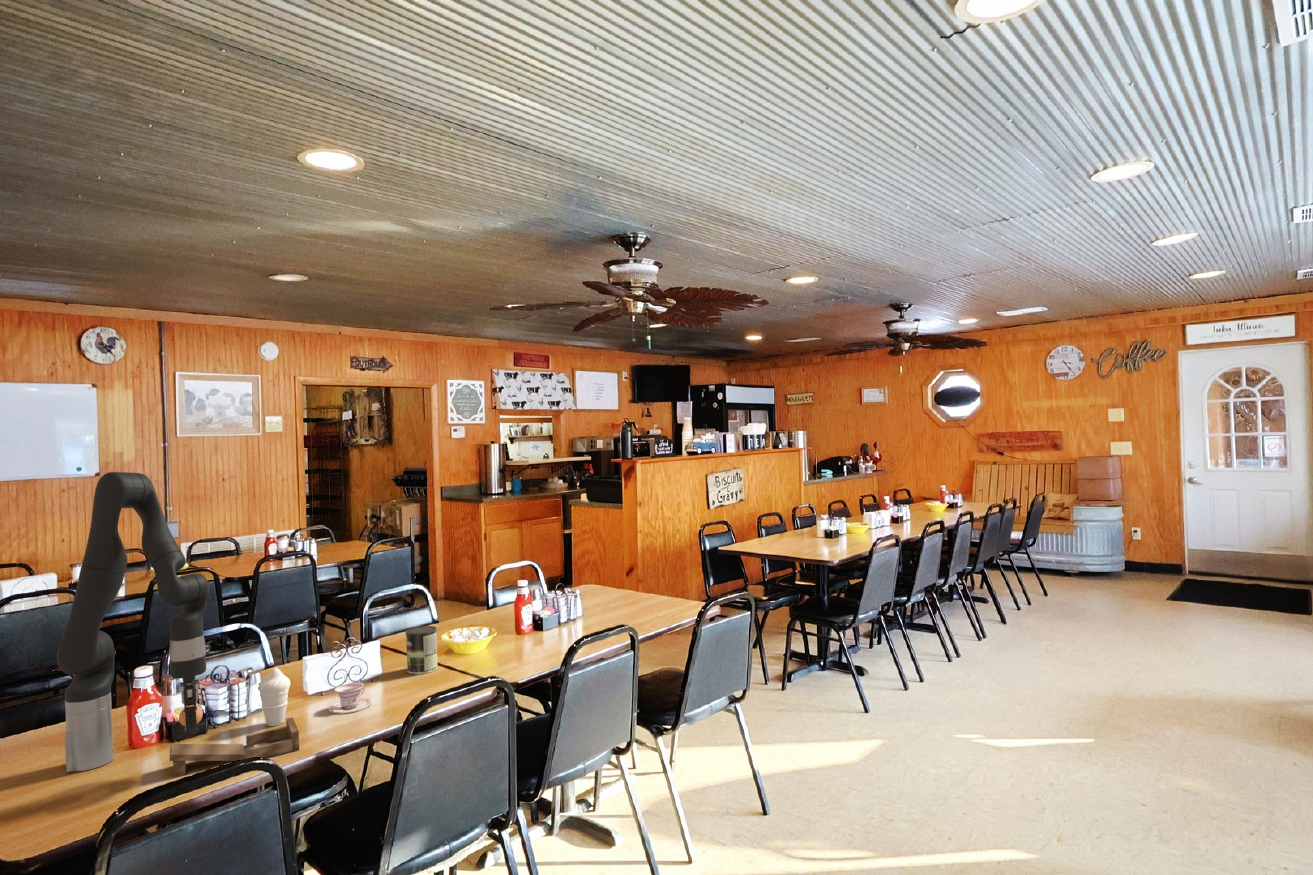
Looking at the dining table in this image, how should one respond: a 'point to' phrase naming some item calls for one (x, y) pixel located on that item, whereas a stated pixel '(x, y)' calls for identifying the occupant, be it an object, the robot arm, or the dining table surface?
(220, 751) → the ramp
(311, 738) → the dining table surface
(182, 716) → the ball
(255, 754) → the box
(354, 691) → the teacup
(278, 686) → the soft serve ice cream cone
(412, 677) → the dining table surface
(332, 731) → the dining table surface
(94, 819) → the dining table surface
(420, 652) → the coffee can
